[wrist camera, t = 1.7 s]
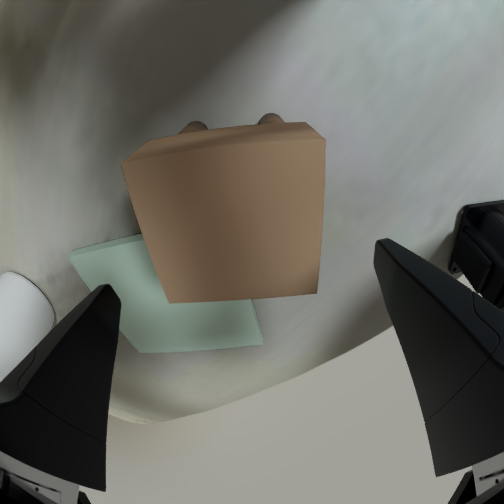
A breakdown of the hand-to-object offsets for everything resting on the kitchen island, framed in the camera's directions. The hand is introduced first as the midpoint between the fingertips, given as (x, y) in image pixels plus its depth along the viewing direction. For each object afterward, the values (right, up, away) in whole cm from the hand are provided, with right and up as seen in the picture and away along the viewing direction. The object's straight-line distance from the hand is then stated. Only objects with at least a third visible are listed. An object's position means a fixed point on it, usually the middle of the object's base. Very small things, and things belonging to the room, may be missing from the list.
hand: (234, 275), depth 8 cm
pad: (-6, -3, +11) cm, 13 cm away
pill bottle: (-23, -4, +12) cm, 26 cm away
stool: (0, +5, +5) cm, 8 cm away
